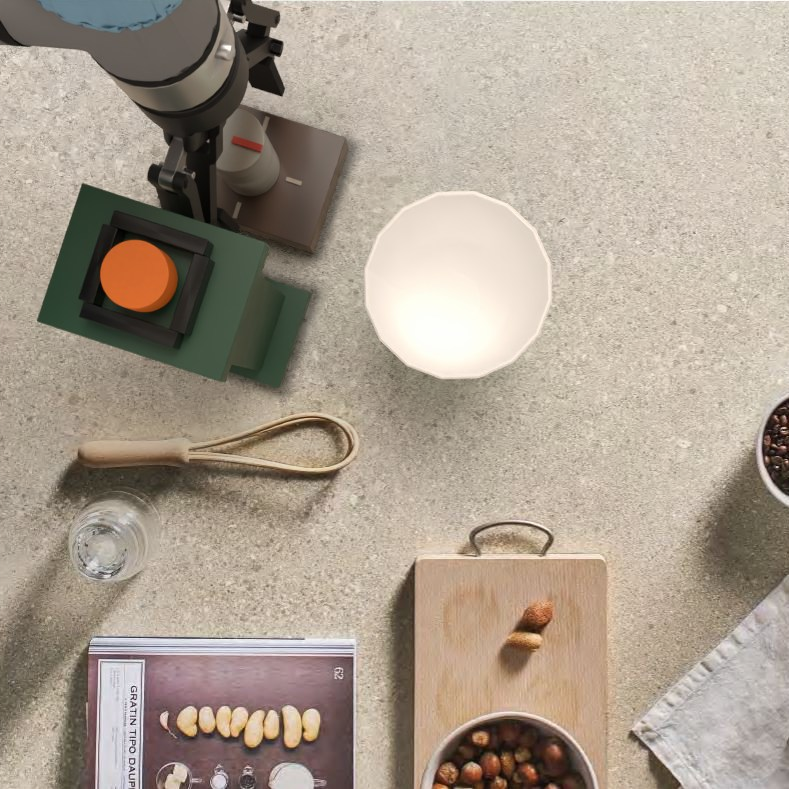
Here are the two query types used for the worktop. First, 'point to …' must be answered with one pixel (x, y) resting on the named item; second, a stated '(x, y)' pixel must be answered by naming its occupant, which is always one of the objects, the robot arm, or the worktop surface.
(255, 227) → the dial panel
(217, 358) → the control post
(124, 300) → the button
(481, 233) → the cup
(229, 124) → the dial
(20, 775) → the worktop surface
